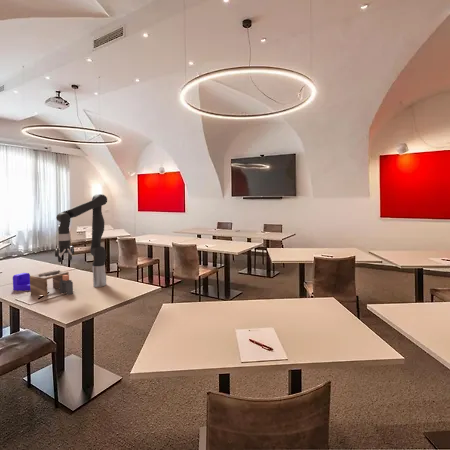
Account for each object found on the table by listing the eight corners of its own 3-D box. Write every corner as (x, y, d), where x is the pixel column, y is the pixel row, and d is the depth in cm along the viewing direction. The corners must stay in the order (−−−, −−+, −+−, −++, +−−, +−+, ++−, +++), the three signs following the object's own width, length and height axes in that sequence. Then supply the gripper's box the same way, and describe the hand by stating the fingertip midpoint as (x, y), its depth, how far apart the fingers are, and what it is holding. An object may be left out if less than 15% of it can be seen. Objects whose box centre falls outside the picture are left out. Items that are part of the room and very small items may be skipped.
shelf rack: (55, 287, 237) (54, 268, 236) (69, 289, 231) (68, 270, 229) (30, 294, 219) (29, 274, 217) (45, 297, 212) (44, 276, 211)
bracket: (13, 290, 229) (12, 275, 228) (26, 286, 240) (25, 272, 239) (30, 292, 224) (29, 277, 223) (43, 288, 234) (42, 273, 233)
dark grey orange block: (64, 292, 224) (63, 274, 223) (73, 293, 221) (72, 275, 220) (60, 293, 221) (59, 275, 219) (68, 295, 217) (67, 276, 216)
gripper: (69, 238, 225) (69, 258, 227) (51, 240, 212) (52, 262, 214) (76, 238, 222) (76, 259, 224) (59, 241, 209) (60, 263, 211)
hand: (65, 261), depth 219 cm, fingers open, 8 cm apart
